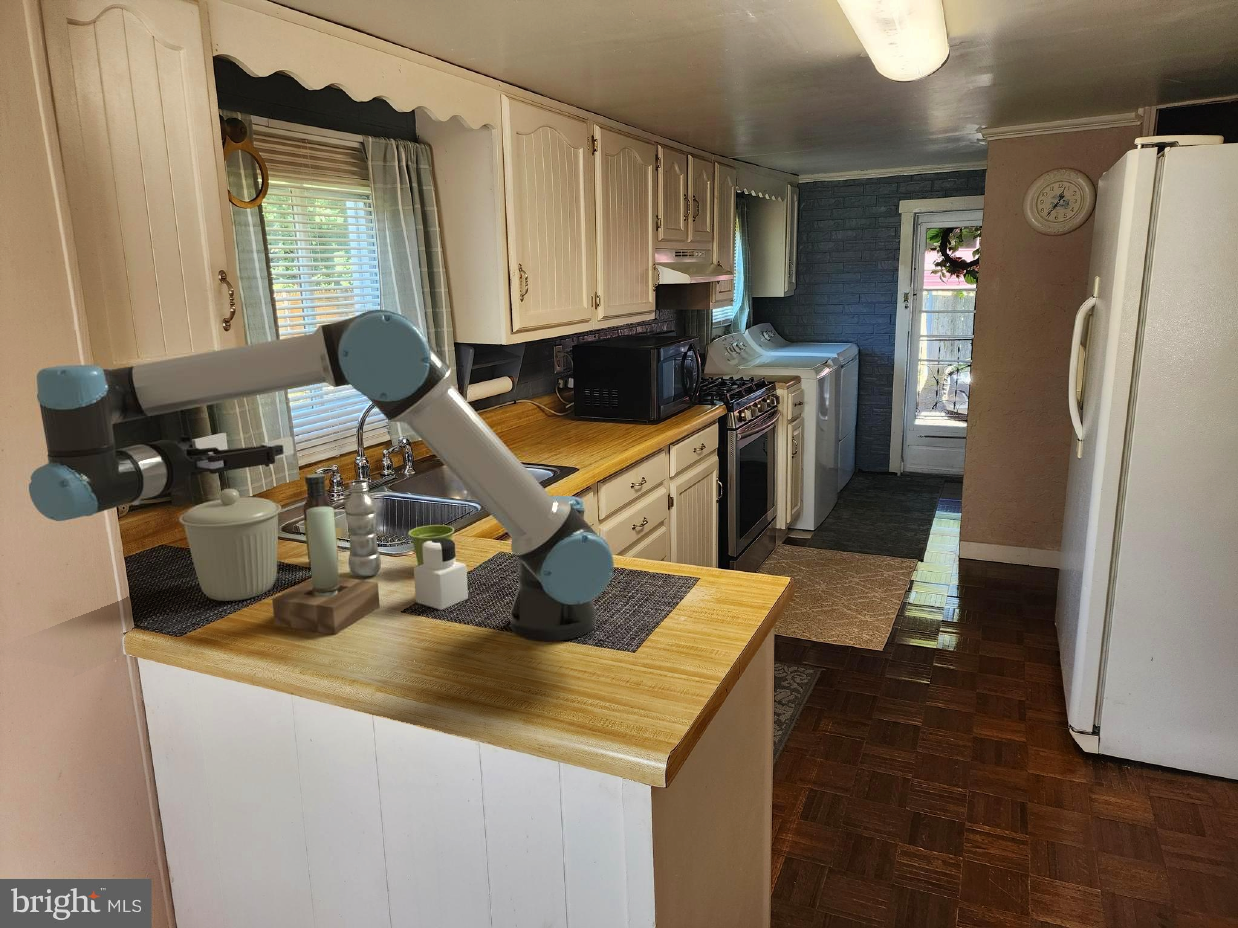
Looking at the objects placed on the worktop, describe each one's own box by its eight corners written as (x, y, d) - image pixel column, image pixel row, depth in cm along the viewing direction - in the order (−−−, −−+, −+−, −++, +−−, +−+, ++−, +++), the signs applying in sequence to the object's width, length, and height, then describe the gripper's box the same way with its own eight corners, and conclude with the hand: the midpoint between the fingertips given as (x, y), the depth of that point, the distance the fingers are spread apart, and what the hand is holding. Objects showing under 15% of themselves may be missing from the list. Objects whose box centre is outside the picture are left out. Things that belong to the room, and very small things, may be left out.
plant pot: (403, 569, 180) (400, 530, 178) (442, 559, 186) (440, 521, 184) (424, 580, 173) (421, 540, 171) (464, 570, 179) (462, 531, 177)
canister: (236, 573, 179) (225, 476, 175) (308, 581, 174) (298, 481, 169) (167, 603, 162) (153, 497, 158) (245, 613, 157) (232, 504, 152)
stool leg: (347, 611, 156) (339, 507, 152) (330, 621, 152) (322, 514, 148) (326, 608, 158) (317, 505, 154) (309, 618, 154) (300, 512, 149)
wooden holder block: (379, 607, 159) (377, 582, 158) (335, 634, 147) (333, 607, 146) (322, 599, 163) (320, 575, 162) (274, 625, 151) (272, 598, 150)
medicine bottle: (443, 591, 167) (439, 533, 164) (468, 598, 163) (465, 539, 160) (415, 602, 161) (410, 542, 158) (441, 610, 157) (437, 549, 154)
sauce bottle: (341, 566, 182) (333, 476, 178) (310, 571, 180) (301, 480, 175) (336, 557, 188) (328, 470, 184) (306, 562, 185) (298, 474, 181)
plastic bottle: (369, 567, 181) (362, 476, 177) (388, 574, 177) (381, 481, 173) (343, 575, 176) (335, 482, 172) (362, 582, 172) (354, 487, 168)
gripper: (88, 489, 125) (201, 460, 145) (221, 502, 117) (322, 469, 137) (80, 440, 124) (196, 417, 143) (215, 448, 115) (317, 423, 135)
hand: (257, 442), depth 140 cm, fingers open, 13 cm apart
